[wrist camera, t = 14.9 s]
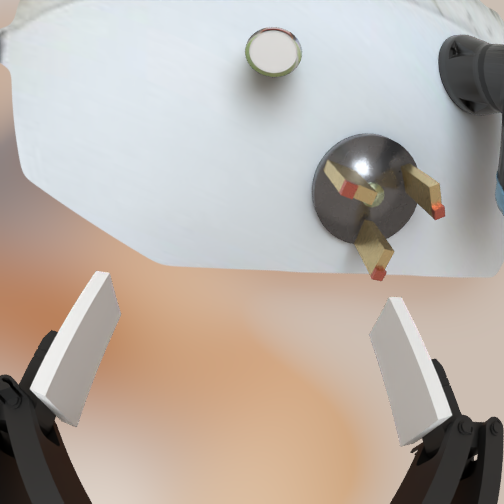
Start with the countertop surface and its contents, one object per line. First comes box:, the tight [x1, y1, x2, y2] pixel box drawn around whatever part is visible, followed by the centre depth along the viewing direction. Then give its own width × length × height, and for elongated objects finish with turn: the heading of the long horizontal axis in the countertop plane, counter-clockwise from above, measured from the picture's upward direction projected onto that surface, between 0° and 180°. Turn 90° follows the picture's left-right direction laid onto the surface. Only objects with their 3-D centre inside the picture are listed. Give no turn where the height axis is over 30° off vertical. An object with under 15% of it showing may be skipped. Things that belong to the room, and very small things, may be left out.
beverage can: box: [245, 27, 302, 77], centre depth 27 cm, size 6×7×12 cm
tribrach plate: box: [312, 134, 417, 244], centre depth 41 cm, size 19×19×3 cm
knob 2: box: [354, 219, 394, 281], centre depth 40 cm, size 5×2×10 cm, turn 167°
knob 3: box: [401, 163, 445, 220], centre depth 35 cm, size 5×2×10 cm, turn 24°
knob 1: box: [323, 160, 378, 205], centre depth 35 cm, size 5×2×10 cm, turn 73°
